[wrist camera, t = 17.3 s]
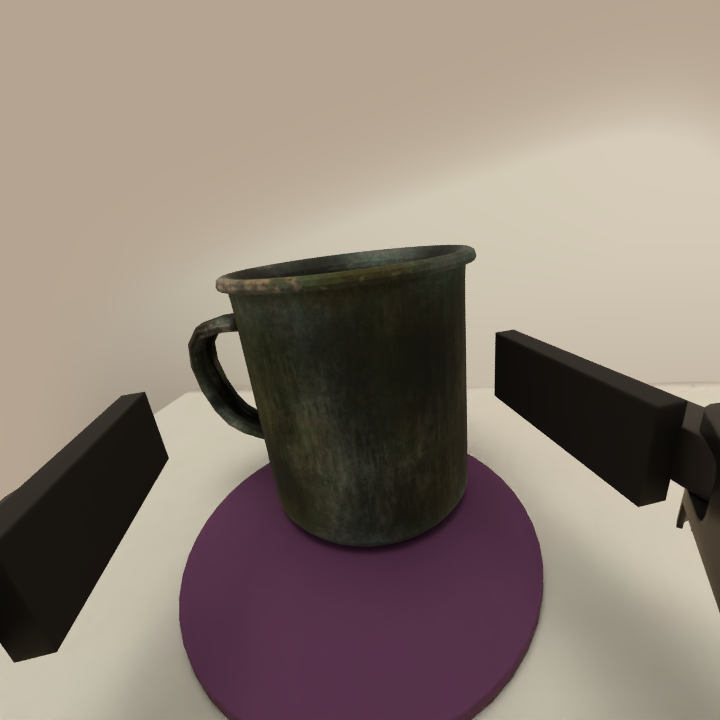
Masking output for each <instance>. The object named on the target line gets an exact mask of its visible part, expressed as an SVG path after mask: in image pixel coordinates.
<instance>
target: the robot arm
mask: <svg viewBox="0 0 720 720" xmlns="http://www.w3.org/2000/svg"><path fill="white" fill-rule="evenodd" d="M495 344H496V345H495V396H496V397H497V398H498V399H500V400H501V401H502V402H504V403H505V404H506V405H507V406H509V407H510V408H511V409H513V410H514V411H515V412H516V413H518V414H519V415H520V416H522V417H523V418H524V419H526V420H527V421H528V422H529V423H531V424H532V425H533V426H535V427H536V428H537V429H538V430H540V431H541V432H542V433H544V434H545V435H546V436H547V437H549V438H550V439H551V440H553V441H554V442H555V443H556V444H558V445H559V446H560V447H562V448H563V449H564V450H565V451H567V452H568V453H569V454H571V455H572V456H573V457H574V458H576V459H577V460H578V461H580V462H581V463H582V464H584V465H585V466H586V467H587V468H589V469H590V470H591V471H593V472H594V473H595V474H596V475H598V476H599V477H600V478H602V479H603V480H604V481H605V482H607V483H608V484H609V485H611V486H612V487H613V488H614V489H616V490H617V491H618V492H620V493H621V494H622V495H623V496H625V497H626V498H627V499H629V500H630V501H631V502H632V503H634V504H635V505H636V506H638V507H641V506H645V505H649V504H653V503H657V502H661V501H665V500H666V496H667V491H668V487H669V483H670V479H671V480H673V481H674V482H676V483H678V484H679V485H681V486H682V487H684V488H685V490H684V494H683V498H682V502H681V506H680V510H679V514H678V518H677V524H676V527H677V528H681V529H682V528H683V524H684V522H686V521H688V520H689V523H690V526H691V531H692V532H693V535H694V538H695V541H696V544H697V547H698V550H699V553H700V556H701V559H702V562H703V565H704V567H705V570H706V573H707V576H708V579H709V582H710V585H711V588H712V591H713V594H714V597H715V600H716V603H717V606H718V609H719V612H720V403H715V404H710V405H708V406H706V407H705V408H704V407H702V406H699V405H697V404H694V403H692V402H690V401H687V400H685V399H682V398H680V397H677V396H675V395H672V394H670V393H667V392H665V391H663V390H660V389H658V388H655V387H653V386H650V385H648V384H645V383H643V382H640V381H638V380H635V379H633V378H631V377H628V376H626V375H623V374H621V373H618V372H616V371H613V370H611V369H609V368H606V367H604V366H601V365H599V364H596V363H594V362H591V361H589V360H586V359H584V358H582V357H579V356H577V355H574V354H572V353H569V352H567V351H564V350H562V349H559V348H557V347H555V346H552V345H550V344H547V343H545V342H542V341H540V340H537V339H535V338H533V337H530V336H528V335H525V334H523V333H520V332H518V331H516V330H509V331H503V332H497V333H496V343H495ZM168 459H169V457H168V455H167V452H166V449H165V446H164V444H163V441H162V438H161V435H160V432H159V430H158V427H157V424H156V421H155V418H154V416H153V413H152V410H151V408H150V405H149V402H148V399H147V396H146V394H145V392H141V393H135V394H129V395H124V396H121V397H120V398H119V399H117V400H116V401H115V402H114V403H113V404H112V405H111V406H110V407H108V408H107V409H106V410H105V411H104V412H103V413H102V414H101V415H100V416H98V418H96V419H95V420H94V421H93V422H92V423H91V424H90V425H89V426H88V427H86V428H85V429H84V430H83V431H82V432H81V433H80V434H78V436H76V437H75V438H74V439H73V440H72V441H71V442H70V443H68V444H67V445H66V446H65V447H64V448H63V449H62V450H61V451H60V452H58V453H57V454H56V455H55V456H54V457H53V458H52V459H51V460H50V461H48V462H47V463H46V464H45V465H44V466H43V467H42V468H41V469H39V470H38V471H37V472H36V473H35V474H34V475H33V476H32V477H31V478H30V479H28V480H27V481H26V482H25V483H24V484H23V485H22V486H21V487H19V488H18V489H17V490H15V491H14V492H12V493H10V494H9V495H7V496H6V497H4V498H3V499H2V500H1V501H0V643H1V645H2V646H3V647H4V649H5V650H6V652H7V653H8V655H9V656H10V657H11V659H12V660H13V662H14V663H15V662H19V661H23V660H27V659H31V658H35V657H39V656H43V655H47V654H51V653H55V652H57V651H58V649H59V647H60V646H61V644H62V642H63V641H64V639H65V637H66V635H67V634H68V632H69V630H70V628H71V627H72V625H73V623H74V621H75V620H76V618H77V616H78V615H79V613H80V611H81V609H82V608H83V606H84V604H85V602H86V601H87V599H88V597H89V596H90V594H91V592H92V590H93V589H94V587H95V585H96V583H97V582H98V580H99V578H100V576H101V575H102V573H103V571H104V570H105V568H106V566H107V564H108V563H109V561H110V559H111V557H112V556H113V554H114V552H115V550H116V549H117V547H118V545H119V544H120V542H121V540H122V538H123V537H124V535H125V533H126V531H127V530H128V528H129V526H130V525H131V523H132V521H133V519H134V518H135V516H136V514H137V512H138V511H139V509H140V507H141V505H142V504H143V502H144V500H145V499H146V497H147V495H148V493H149V492H150V490H151V488H152V486H153V485H154V483H155V481H156V480H157V478H158V476H159V474H160V473H161V471H162V469H163V467H164V466H165V464H166V462H167V460H168Z"/></svg>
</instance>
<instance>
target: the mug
mask: <svg viewBox="0 0 720 720" xmlns="http://www.w3.org/2000/svg"><path fill="white" fill-rule="evenodd" d="M475 258H476V253H475V250H474V248H472V247H470V246H466V245H435V246H418V247H405V248H395V249H384V250H374V251H365V252H356V253H348V254H340V255H332V256H324V257H317V258H311V259H303V260H296V261H290V262H284V263H278V264H272V265H266V266H261V267H256V268H250V269H245V270H241V271H237V272H233V273H229V274H226V275H223V276H221V277H220V278H218V279H217V280H216V289H217V290H218V291H219V292H221V293H227V294H229V298H230V301H231V304H232V308H233V312H234V313H231V314H226V315H222V316H220V317H217V318H214V319H211V320H209V321H206V322H203V323H202V324H200V325H199V326H198V327H196V329H195V330H194V333H193V335H192V337H191V339H190V342H189V344H188V348H189V355H190V362H191V368H192V370H193V372H194V374H195V376H196V379H197V381H198V383H199V386H200V388H201V390H202V392H203V393H204V395H205V396H206V398H207V399H208V401H209V402H210V404H211V405H212V407H213V408H214V410H215V411H216V412H217V413H218V414H219V415H220V416H221V417H222V418H223V419H224V420H225V421H226V422H227V423H228V424H229V425H230V426H232V427H234V428H236V429H237V430H239V431H241V432H243V433H245V434H249V435H252V436H255V437H258V438H262V439H265V443H266V447H267V451H268V456H269V460H270V464H271V468H272V472H273V476H274V480H275V484H276V488H277V493H278V497H279V501H280V504H281V506H282V508H283V509H284V511H285V513H286V514H287V515H288V516H289V517H290V518H291V519H292V521H293V522H295V523H296V524H297V525H299V526H300V527H302V528H303V529H304V530H306V531H308V532H309V533H311V534H313V535H315V536H317V537H319V538H321V539H323V540H326V541H330V542H333V543H337V544H342V545H349V546H363V547H373V546H381V545H389V544H393V543H397V542H401V541H405V540H408V539H411V538H413V537H416V536H418V535H421V534H422V533H424V532H426V531H428V530H429V529H431V528H433V527H434V526H436V525H437V524H438V523H439V522H441V521H442V520H443V519H444V518H445V517H446V516H447V515H448V514H449V513H450V512H451V511H452V510H453V509H454V508H455V506H456V505H457V504H458V503H459V502H460V500H461V498H462V496H463V494H464V492H465V489H466V485H467V481H468V468H467V396H466V331H465V330H466V328H465V327H466V324H465V266H466V264H468V263H470V262H472V261H473V260H474V259H475ZM235 331H238V332H239V336H240V340H241V344H242V349H243V353H244V356H245V361H246V365H247V369H248V373H249V377H250V382H251V386H252V390H253V394H254V398H255V402H256V406H257V409H255V408H253V407H252V406H250V405H248V404H247V403H246V402H245V401H244V400H243V399H242V398H241V397H240V396H239V395H238V394H237V392H236V391H235V389H234V388H233V386H232V385H231V383H230V382H229V380H228V379H227V377H226V375H225V373H224V371H223V369H222V367H221V365H220V362H219V360H218V357H217V351H216V346H215V340H216V338H217V336H218V334H219V333H222V332H235Z"/></svg>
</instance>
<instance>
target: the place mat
mask: <svg viewBox="0 0 720 720" xmlns="http://www.w3.org/2000/svg"><path fill="white" fill-rule="evenodd" d="M467 468H468V481H467V485H466V489H465V492H464V494H463V496H462V498H461V500H460V502H459V503H458V504H457V505H456V506H455V508H454V509H453V510H452V511H451V512H450V513H449V514H448V515H447V516H446V517H445V518H444V519H443V520H442V521H441V522H439V523H438V524H437V525H436V526H434V527H433V528H431V529H429V530H428V531H426V532H424V533H422V534H421V535H418V536H416V537H413V538H411V539H408V540H405V541H401V542H397V543H393V544H389V545H381V546H373V547H363V546H349V545H342V544H337V543H333V542H330V541H326V540H323V539H321V538H319V537H317V536H315V535H313V534H311V533H309V532H308V531H306V530H304V529H303V528H302V527H300V526H299V525H297V524H296V523H295V522H293V521H292V519H291V518H290V517H289V516H288V515H287V514H286V513H285V511H284V509H283V508H282V506H281V504H280V501H279V497H278V493H277V488H276V484H275V480H274V476H273V472H272V468H271V464H270V463H269V464H267V465H265V466H264V467H262V468H261V469H259V470H258V471H256V472H255V473H254V474H252V475H251V476H250V477H248V478H247V479H246V480H244V481H243V482H242V483H241V484H240V485H239V486H238V487H236V488H235V489H234V490H233V491H232V492H231V493H230V494H229V495H228V496H227V497H226V498H225V499H224V500H223V502H222V503H221V504H220V505H219V506H218V507H217V508H216V510H215V511H214V512H213V514H212V515H211V516H210V518H209V519H208V520H207V522H206V523H205V525H204V527H203V528H202V530H201V532H200V533H199V535H198V537H197V539H196V541H195V543H194V545H193V548H192V550H191V552H190V554H189V557H188V560H187V564H186V567H185V570H184V573H183V578H182V584H181V591H180V597H179V621H180V627H181V632H182V638H183V644H184V647H185V649H186V652H187V655H188V657H189V660H190V662H191V665H192V668H193V670H194V672H195V675H196V677H197V678H198V680H199V682H200V683H201V685H202V686H203V688H204V690H205V691H206V693H207V695H208V696H209V698H210V699H211V701H212V702H213V703H214V704H215V705H216V706H217V707H218V708H219V709H220V710H221V711H222V712H223V713H224V714H225V715H226V717H227V718H228V719H229V720H470V719H471V718H472V717H473V716H475V715H476V714H477V713H478V712H479V711H481V710H482V709H483V708H484V707H485V706H487V705H488V704H489V703H490V702H491V701H492V700H493V699H494V698H495V697H496V695H497V694H498V693H499V692H500V691H501V690H502V688H503V687H504V686H505V685H506V684H507V682H508V681H509V680H510V679H511V678H512V676H513V675H514V673H515V671H516V670H517V668H518V666H519V664H520V663H521V661H522V659H523V657H524V656H525V654H526V652H527V650H528V648H529V645H530V643H531V640H532V637H533V634H534V632H535V629H536V626H537V623H538V618H539V612H540V607H541V601H542V593H543V563H542V557H541V551H540V545H539V541H538V538H537V535H536V532H535V529H534V526H533V524H532V522H531V520H530V518H529V516H528V514H527V512H526V510H525V508H524V506H523V505H522V503H521V502H520V500H519V499H518V498H517V496H516V495H515V493H514V492H513V491H512V490H511V488H510V487H509V486H508V485H507V484H506V483H505V482H504V481H503V480H502V479H501V478H500V477H499V476H498V475H497V474H496V473H494V472H493V471H492V470H491V469H490V468H489V467H487V466H486V465H484V464H483V463H481V462H480V461H478V460H477V459H476V458H474V457H472V456H470V455H468V454H467Z"/></svg>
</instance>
